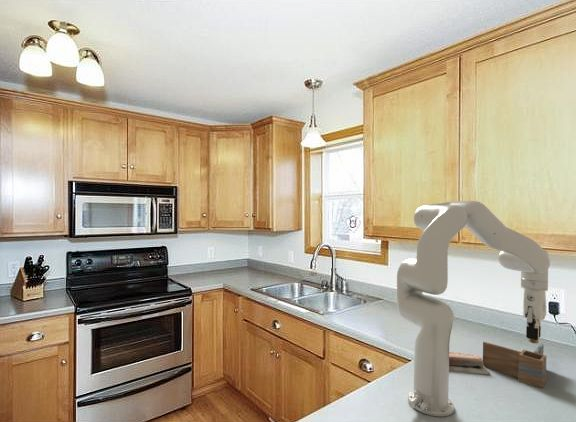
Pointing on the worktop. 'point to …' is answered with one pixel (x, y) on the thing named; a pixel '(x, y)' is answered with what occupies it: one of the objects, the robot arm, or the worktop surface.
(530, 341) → the hinge pin
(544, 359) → the hinge
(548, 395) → the worktop surface
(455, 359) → the packaged product
